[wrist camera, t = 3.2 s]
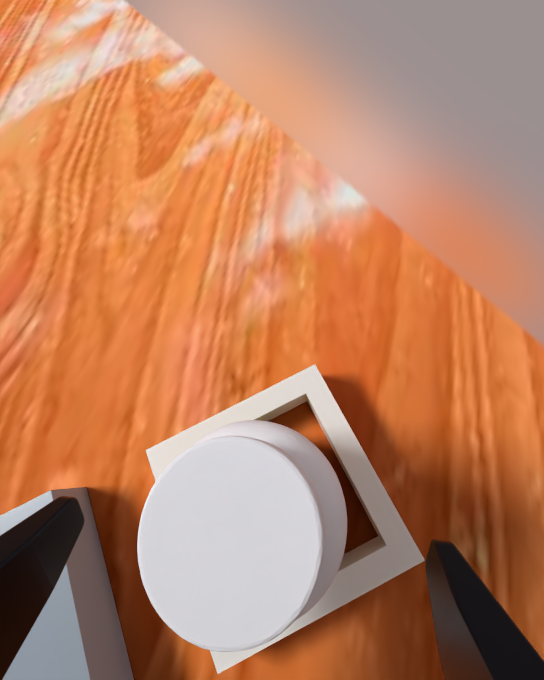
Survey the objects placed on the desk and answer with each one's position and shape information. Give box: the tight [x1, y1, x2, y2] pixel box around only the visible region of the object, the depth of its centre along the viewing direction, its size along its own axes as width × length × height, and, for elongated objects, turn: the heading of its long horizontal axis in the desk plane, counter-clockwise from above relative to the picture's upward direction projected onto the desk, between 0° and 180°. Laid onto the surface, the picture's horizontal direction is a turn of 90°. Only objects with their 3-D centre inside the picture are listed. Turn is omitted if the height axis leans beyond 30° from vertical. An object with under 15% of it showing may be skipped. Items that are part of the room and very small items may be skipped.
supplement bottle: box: [137, 420, 347, 652], centre depth 12 cm, size 5×5×10 cm
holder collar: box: [146, 365, 425, 674], centre depth 15 cm, size 9×9×2 cm
